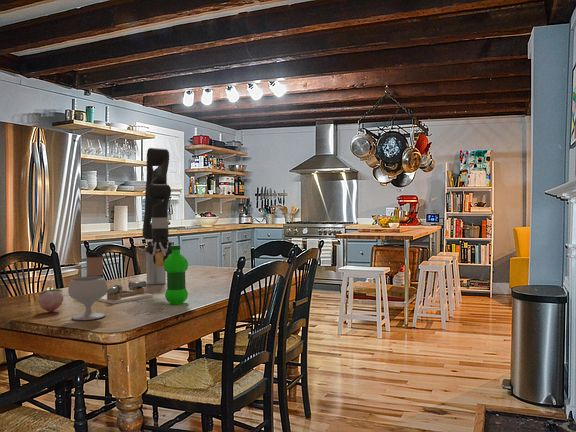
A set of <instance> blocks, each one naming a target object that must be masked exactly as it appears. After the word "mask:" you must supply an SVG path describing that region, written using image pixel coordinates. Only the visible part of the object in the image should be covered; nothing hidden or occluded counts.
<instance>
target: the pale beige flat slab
mask: <svg viewBox="0 0 576 432" xmlns="http://www.w3.org/2000/svg"><path fill="white" fill-rule="evenodd" d="M153 297H154V295H153V294H151V293H147V292H144V293H142V294H136V293H135V292H133V290H122V292H121V299H119V300H107V294H105V295H104V296H103V297H102V298H100V299H98V300H97V302H103V303H108V304H119V303H127V302H131V301H138V299H139V300H143V299H144V300H145V299H150V298H153Z"/></svg>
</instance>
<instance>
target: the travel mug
mask: <svg viewBox="0 0 576 432" xmlns="http://www.w3.org/2000/svg"><path fill="white" fill-rule="evenodd" d="M85 254H86V256H85V257H86V260H85V261H86V277H88V276H101V277H104V262H103V261H104V258H103V251H102V250H101V251H98V250H95V251H94V250H93V251H86V252H85Z"/></svg>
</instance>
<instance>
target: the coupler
mask: <svg viewBox="0 0 576 432" xmlns="http://www.w3.org/2000/svg"><path fill="white" fill-rule="evenodd" d="M155 258H156V266H164V254H163V252H160V253H155Z"/></svg>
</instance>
